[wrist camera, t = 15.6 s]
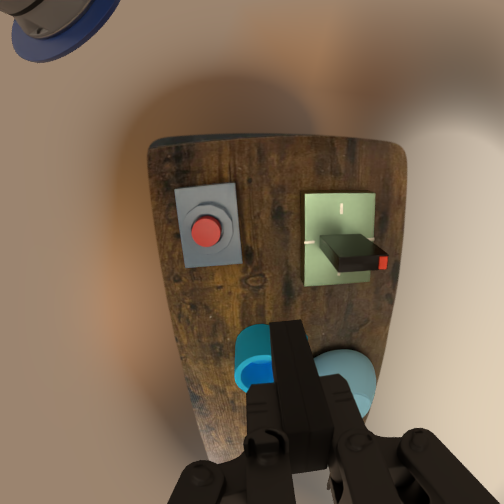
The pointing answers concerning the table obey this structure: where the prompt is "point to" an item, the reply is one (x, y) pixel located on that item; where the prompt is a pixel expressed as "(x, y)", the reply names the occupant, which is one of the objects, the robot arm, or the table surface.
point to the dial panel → (333, 231)
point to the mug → (253, 357)
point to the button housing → (215, 205)
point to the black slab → (353, 253)
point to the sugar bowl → (351, 374)
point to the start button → (206, 231)
